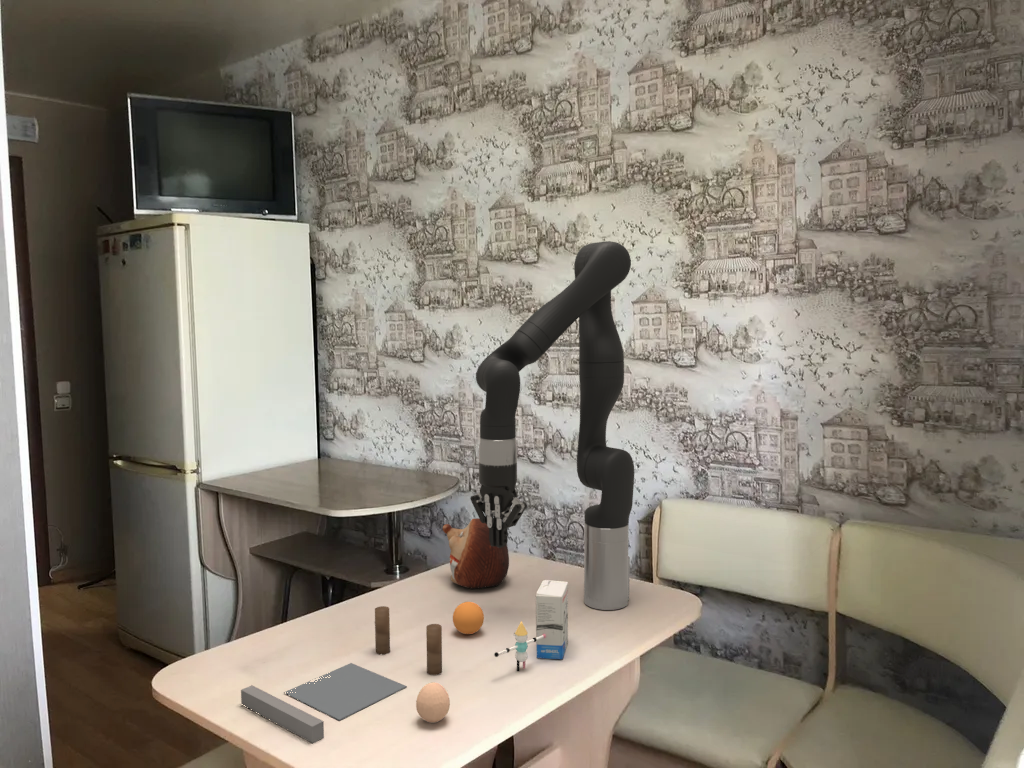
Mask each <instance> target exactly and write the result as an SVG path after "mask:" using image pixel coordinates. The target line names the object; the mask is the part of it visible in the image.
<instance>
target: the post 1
mask: <svg viewBox="0 0 1024 768" xmlns="http://www.w3.org/2000/svg"><path fill="white" fill-rule="evenodd" d="M390 625H391V624H390V607H389V606H385V605H384V606H383V605H382V606H377V607H376V608H374V633H375V634H374V635H375V636H374V637H375V646H374V647H375V654H377V655H380V654H382V655H387V654H390V652H391V637H390V635H391V633H390V632H391V631H390V630H391V628H390Z"/></svg>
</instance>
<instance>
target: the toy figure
mask: <svg viewBox="0 0 1024 768" xmlns="http://www.w3.org/2000/svg"><path fill="white" fill-rule="evenodd" d="M528 634H529V633H528V631H527V629H526V626H525V624H524V623H523V621H522V620H521V621H520V623H519V624H518V626H517V628H516V630H515V632H514V633H513V636H514V639H515V641H516V642H515V644H514V646H511V647H506V649H504V650H500V651H499V652H496V651H495V652H494V654H493V656H494V657H495V658H498V657H499V656H501V655H503V654H505V653H507V654H508V653H509V652H511V651H513V650H516V651H515V654H514V657H515V660H516V672H520V663H522V669H523V670H525V669H526V660H527V659H528V651H527V650H528V644H532V643H536V640H539V639H542V638H546V635H545V634H543V635H542V636H539V637H537V638H536V637H533V638H532V639H529V640H528V638H529V637H528Z"/></svg>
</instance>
